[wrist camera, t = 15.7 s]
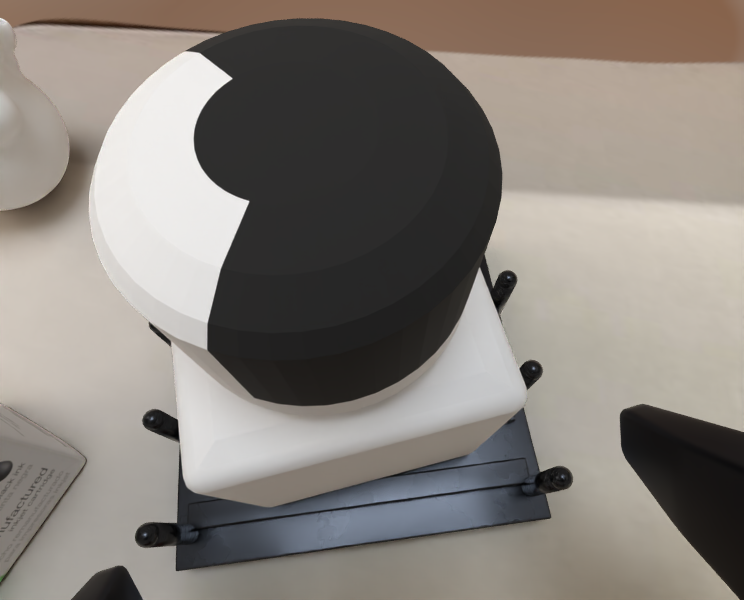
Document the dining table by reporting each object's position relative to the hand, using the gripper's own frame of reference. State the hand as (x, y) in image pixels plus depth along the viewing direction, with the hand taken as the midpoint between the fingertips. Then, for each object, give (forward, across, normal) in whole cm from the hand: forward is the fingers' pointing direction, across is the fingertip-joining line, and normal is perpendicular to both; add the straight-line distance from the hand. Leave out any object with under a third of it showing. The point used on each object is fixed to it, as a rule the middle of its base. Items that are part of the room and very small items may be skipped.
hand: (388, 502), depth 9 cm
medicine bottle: (+9, 0, +2) cm, 9 cm away
